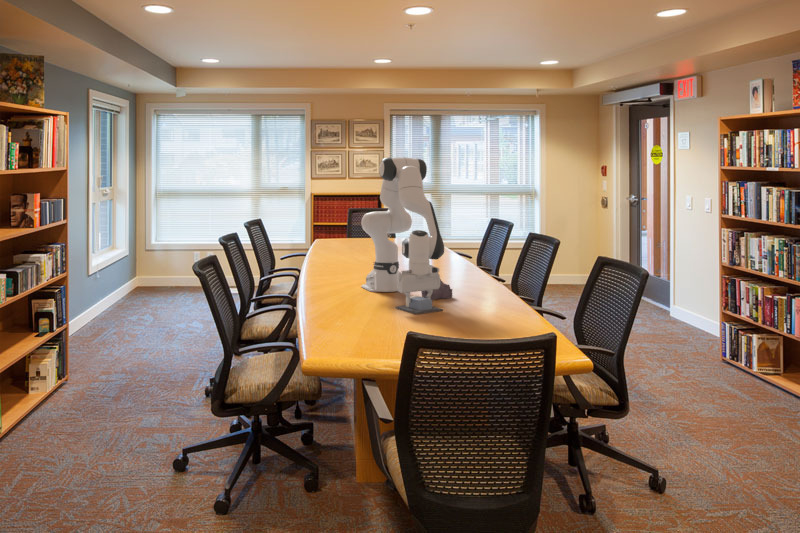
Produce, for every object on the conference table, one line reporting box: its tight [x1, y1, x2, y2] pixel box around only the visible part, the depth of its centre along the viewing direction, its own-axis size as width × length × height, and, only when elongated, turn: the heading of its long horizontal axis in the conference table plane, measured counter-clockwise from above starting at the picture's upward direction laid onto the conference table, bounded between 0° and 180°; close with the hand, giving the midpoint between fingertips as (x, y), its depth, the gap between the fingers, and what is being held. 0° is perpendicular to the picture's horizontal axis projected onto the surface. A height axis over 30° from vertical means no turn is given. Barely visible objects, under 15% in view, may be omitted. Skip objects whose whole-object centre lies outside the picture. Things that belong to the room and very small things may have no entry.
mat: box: [395, 304, 443, 315], centre depth 292 cm, size 15×14×1 cm
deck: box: [405, 295, 433, 311], centre depth 292 cm, size 11×6×4 cm, turn 34°
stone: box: [420, 278, 453, 301], centre depth 317 cm, size 10×6×15 cm
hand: (418, 301), depth 292 cm, fingers open, 8 cm apart
